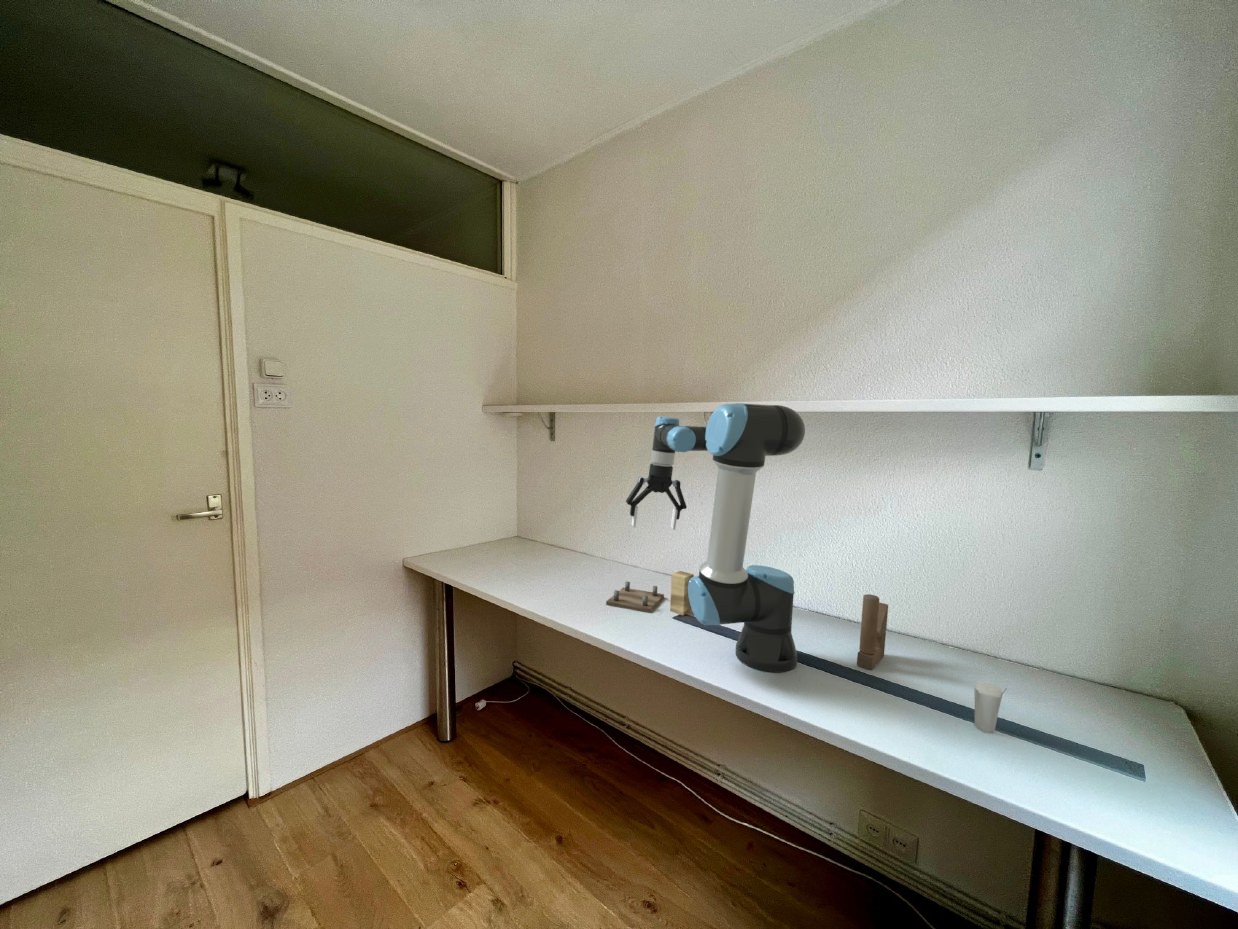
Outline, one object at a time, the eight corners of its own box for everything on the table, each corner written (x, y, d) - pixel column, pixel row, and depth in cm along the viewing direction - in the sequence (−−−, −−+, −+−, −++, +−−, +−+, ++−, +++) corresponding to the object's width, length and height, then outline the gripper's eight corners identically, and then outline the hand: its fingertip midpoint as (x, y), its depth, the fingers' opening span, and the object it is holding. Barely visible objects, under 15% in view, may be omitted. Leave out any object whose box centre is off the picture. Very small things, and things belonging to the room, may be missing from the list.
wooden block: (884, 657, 128) (889, 590, 127) (871, 671, 120) (877, 600, 119) (869, 652, 131) (874, 586, 129) (856, 666, 123) (861, 596, 121)
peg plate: (649, 612, 153) (650, 599, 153) (606, 604, 159) (606, 592, 159) (663, 597, 167) (664, 585, 167) (623, 590, 173) (623, 579, 172)
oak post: (683, 615, 152) (684, 577, 151) (670, 611, 156) (671, 574, 155) (692, 611, 156) (693, 574, 155) (679, 606, 159) (680, 570, 158)
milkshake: (994, 740, 95) (999, 690, 94) (965, 724, 100) (970, 677, 99) (1008, 734, 97) (1013, 686, 96) (979, 719, 102) (984, 673, 101)
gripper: (694, 465, 166) (685, 526, 168) (622, 458, 160) (614, 521, 163) (701, 469, 158) (692, 532, 161) (627, 462, 153) (618, 527, 156)
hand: (653, 527), depth 162 cm, fingers open, 13 cm apart
